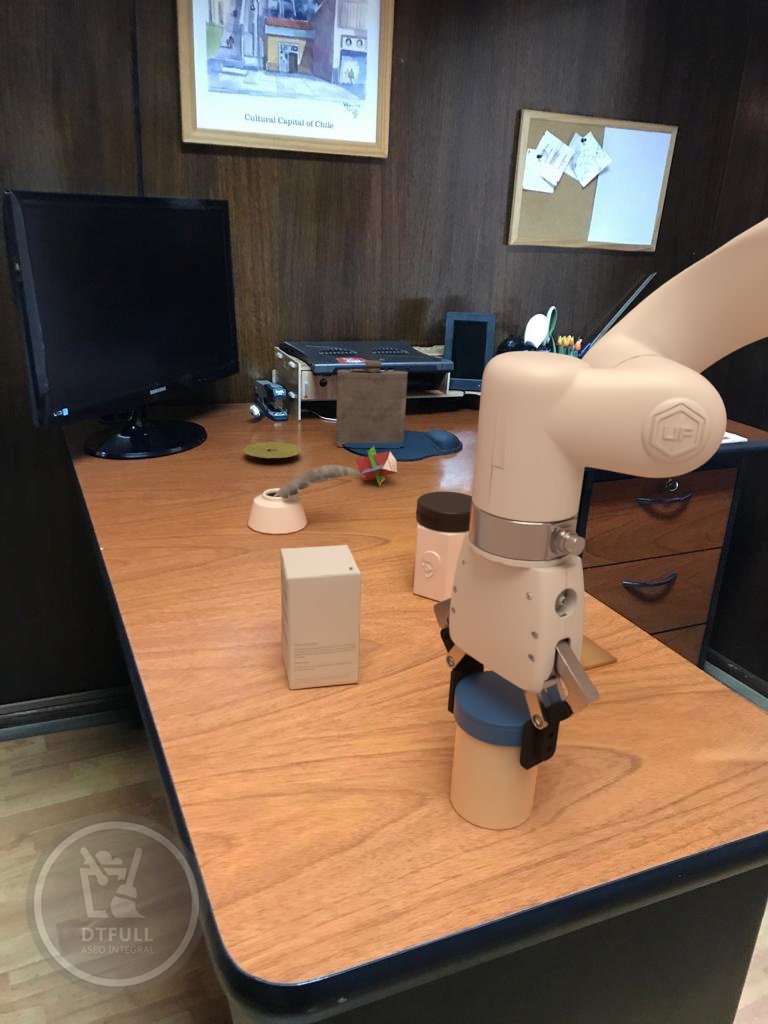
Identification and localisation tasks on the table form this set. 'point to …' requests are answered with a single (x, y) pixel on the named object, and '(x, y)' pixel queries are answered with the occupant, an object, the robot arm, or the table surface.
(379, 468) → the geometric puzzle
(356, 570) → the white packaging box
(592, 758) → the table surface
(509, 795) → the jam jar
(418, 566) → the jar
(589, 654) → the coaster
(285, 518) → the inkwell
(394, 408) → the flask
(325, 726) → the table surface
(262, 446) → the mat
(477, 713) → the lid
